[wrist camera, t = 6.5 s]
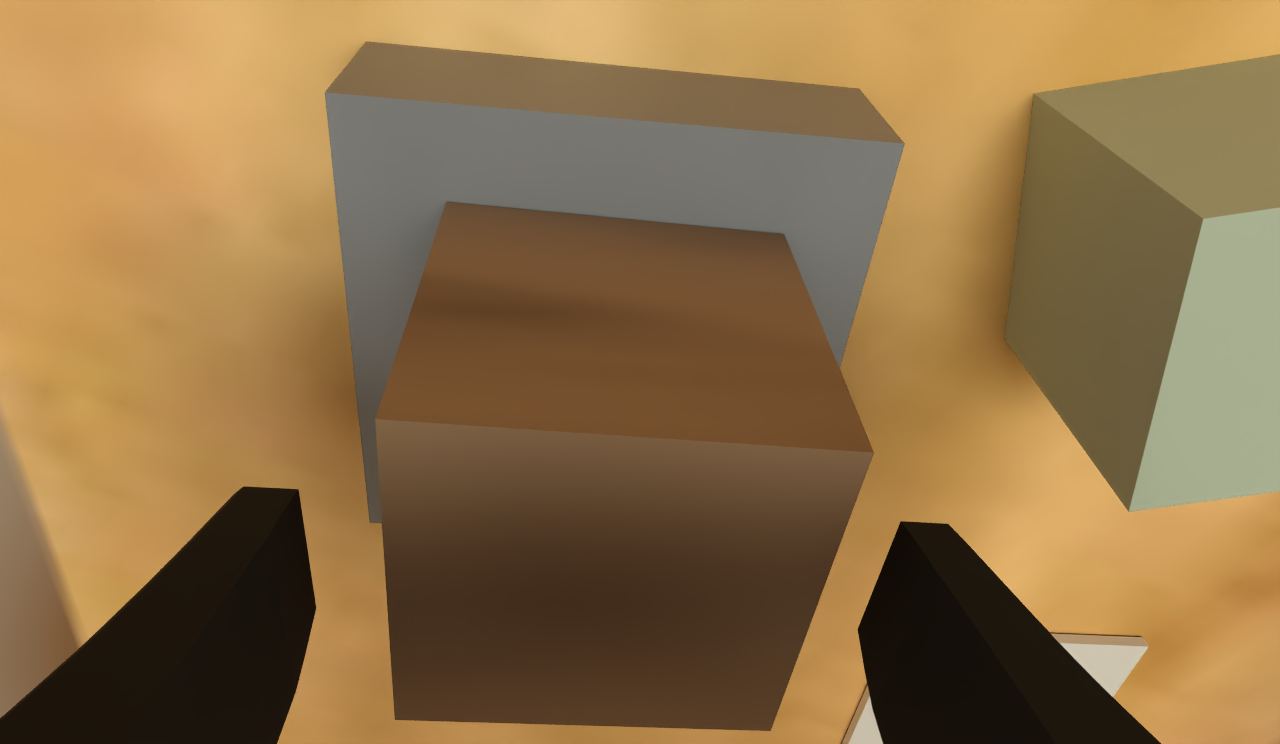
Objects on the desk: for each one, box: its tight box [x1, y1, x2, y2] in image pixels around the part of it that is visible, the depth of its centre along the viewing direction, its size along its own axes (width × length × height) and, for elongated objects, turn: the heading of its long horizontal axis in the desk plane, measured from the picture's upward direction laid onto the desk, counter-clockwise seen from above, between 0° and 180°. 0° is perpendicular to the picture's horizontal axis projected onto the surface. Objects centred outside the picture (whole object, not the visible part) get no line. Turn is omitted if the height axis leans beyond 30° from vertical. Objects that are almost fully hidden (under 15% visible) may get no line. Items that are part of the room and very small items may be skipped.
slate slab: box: [325, 42, 905, 523], centre depth 15 cm, size 8×8×3 cm
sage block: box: [1005, 54, 1280, 512], centre depth 14 cm, size 5×5×5 cm
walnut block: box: [375, 202, 874, 731], centre depth 12 cm, size 5×5×5 cm
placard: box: [842, 634, 1149, 744], centre depth 25 cm, size 7×7×1 cm
